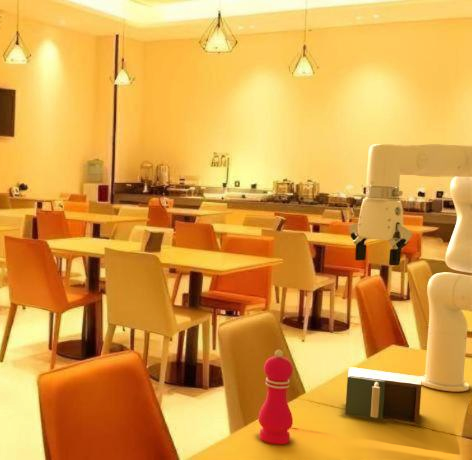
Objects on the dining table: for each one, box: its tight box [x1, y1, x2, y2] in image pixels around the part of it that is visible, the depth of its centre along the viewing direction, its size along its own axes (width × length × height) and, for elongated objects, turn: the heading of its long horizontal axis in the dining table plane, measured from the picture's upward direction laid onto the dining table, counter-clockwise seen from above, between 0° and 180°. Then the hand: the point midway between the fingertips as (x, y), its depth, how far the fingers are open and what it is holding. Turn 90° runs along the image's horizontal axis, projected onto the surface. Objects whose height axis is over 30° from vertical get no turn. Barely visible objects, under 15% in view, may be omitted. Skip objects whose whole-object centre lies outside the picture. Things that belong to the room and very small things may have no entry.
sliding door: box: [344, 375, 385, 421], centre depth 178 cm, size 7×8×10 cm
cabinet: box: [347, 367, 423, 424], centre depth 183 cm, size 8×16×10 cm, turn 65°
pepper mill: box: [257, 349, 294, 445], centre depth 165 cm, size 7×7×20 cm
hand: (376, 262), depth 190 cm, fingers open, 9 cm apart
